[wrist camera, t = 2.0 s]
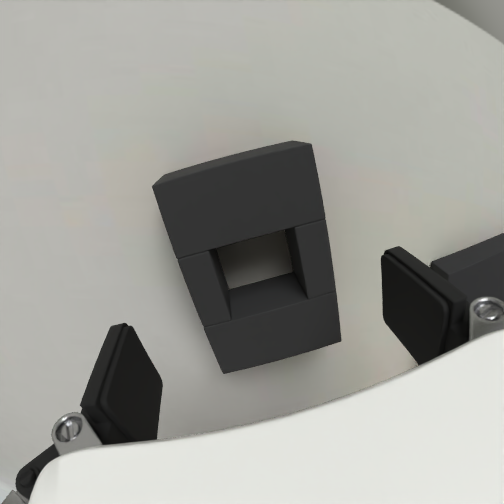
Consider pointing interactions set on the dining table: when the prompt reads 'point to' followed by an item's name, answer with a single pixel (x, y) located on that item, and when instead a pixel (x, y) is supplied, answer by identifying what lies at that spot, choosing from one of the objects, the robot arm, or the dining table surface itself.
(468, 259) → the base pad
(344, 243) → the dining table surface
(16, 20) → the dining table surface
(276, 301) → the black socket block
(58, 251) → the dining table surface
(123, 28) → the dining table surface
